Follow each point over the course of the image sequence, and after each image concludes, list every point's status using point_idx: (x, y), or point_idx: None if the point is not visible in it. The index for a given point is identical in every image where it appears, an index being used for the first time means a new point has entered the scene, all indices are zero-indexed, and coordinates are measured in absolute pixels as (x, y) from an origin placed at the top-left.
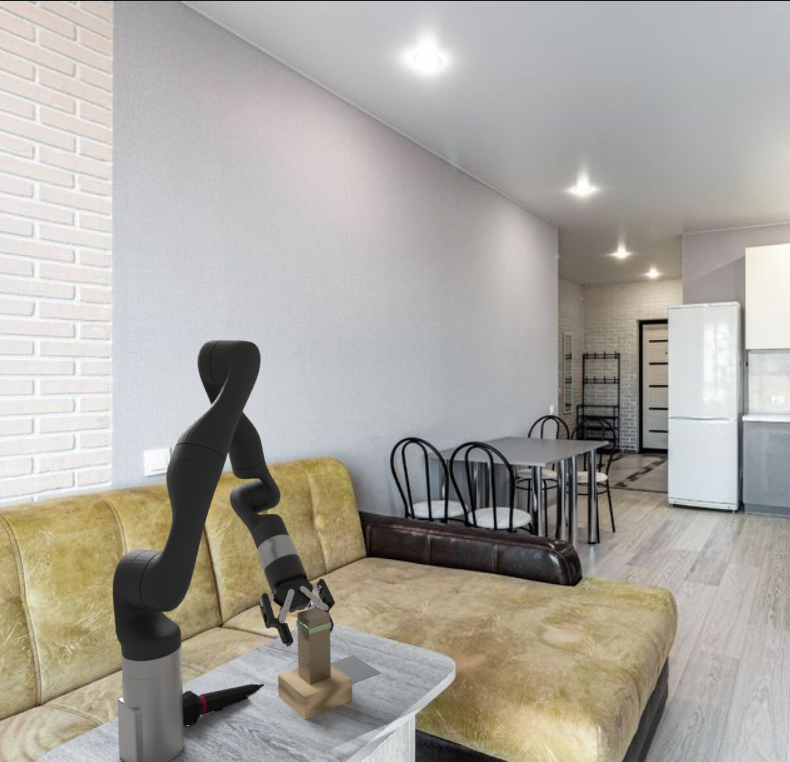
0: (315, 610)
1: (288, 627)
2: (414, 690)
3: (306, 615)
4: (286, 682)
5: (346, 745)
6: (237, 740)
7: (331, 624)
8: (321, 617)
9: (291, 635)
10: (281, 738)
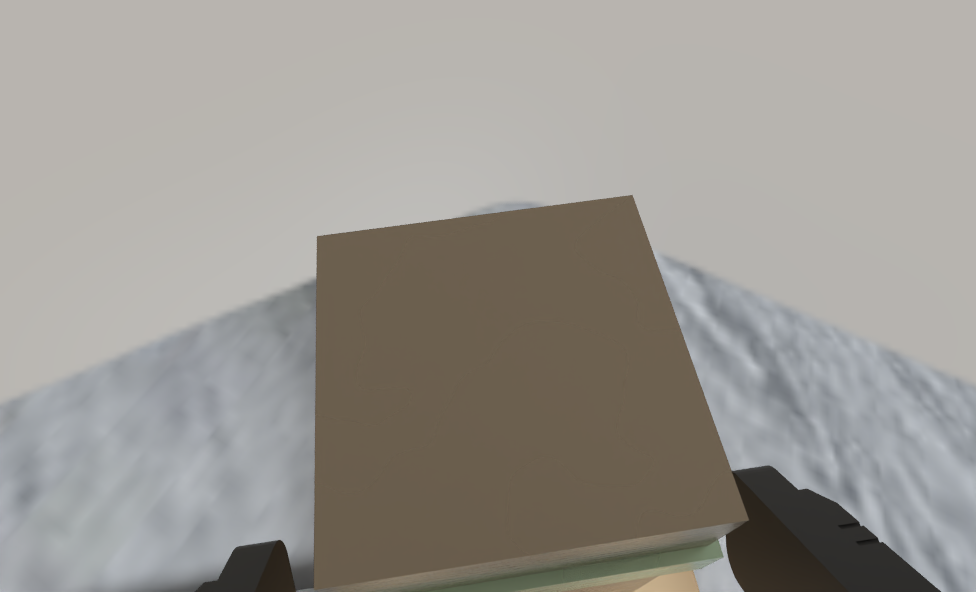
0: (423, 450)
1: (823, 555)
2: (62, 422)
3: (623, 339)
4: (692, 571)
5: None
6: (908, 448)
7: (226, 568)
8: (447, 225)
9: (760, 496)
10: (719, 373)
